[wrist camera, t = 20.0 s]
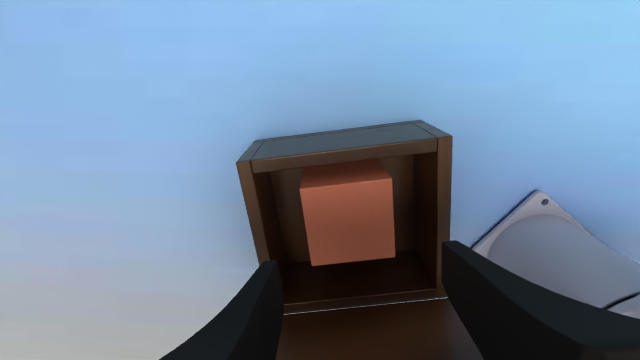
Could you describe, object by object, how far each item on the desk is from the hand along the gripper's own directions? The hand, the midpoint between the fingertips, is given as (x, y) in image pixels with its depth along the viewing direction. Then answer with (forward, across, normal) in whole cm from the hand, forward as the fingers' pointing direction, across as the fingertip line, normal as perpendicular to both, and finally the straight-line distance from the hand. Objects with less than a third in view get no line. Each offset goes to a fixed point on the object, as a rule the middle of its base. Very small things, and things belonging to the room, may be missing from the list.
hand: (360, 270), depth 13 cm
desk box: (+10, 0, +1) cm, 10 cm away
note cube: (+9, 0, 0) cm, 9 cm away
